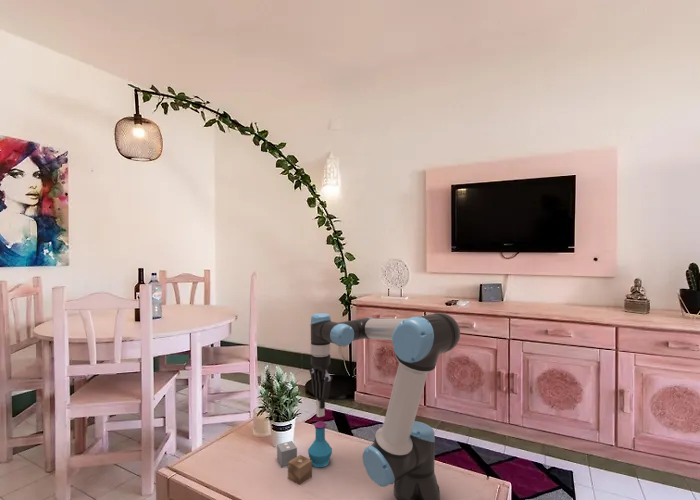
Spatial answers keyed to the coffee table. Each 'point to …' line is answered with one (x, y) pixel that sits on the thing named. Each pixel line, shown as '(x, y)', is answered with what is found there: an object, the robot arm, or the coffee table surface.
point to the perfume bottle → (320, 447)
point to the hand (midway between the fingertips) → (320, 415)
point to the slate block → (286, 453)
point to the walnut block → (300, 469)
